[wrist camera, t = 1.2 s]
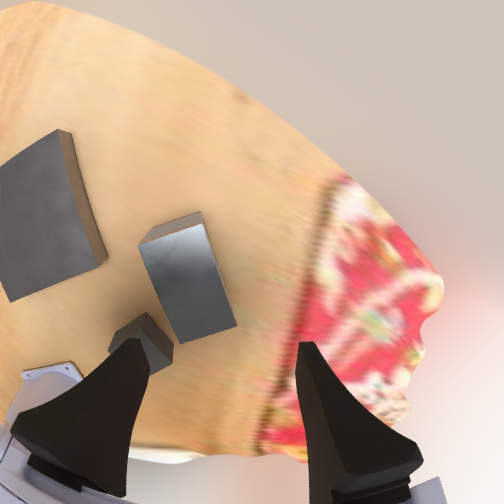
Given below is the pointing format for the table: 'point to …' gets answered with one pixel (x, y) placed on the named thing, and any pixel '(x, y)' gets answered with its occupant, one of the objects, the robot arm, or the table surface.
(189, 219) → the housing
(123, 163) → the table surface
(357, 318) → the table surface
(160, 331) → the rubber block
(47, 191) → the stand
